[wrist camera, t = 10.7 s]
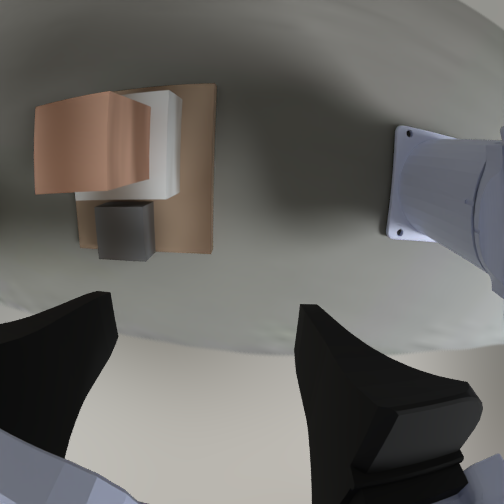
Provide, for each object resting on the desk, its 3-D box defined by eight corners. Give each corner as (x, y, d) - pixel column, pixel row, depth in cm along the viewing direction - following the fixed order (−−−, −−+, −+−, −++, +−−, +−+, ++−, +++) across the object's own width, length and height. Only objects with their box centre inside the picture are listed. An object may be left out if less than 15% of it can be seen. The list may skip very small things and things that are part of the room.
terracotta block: (150, 106, 14) (109, 90, 10) (149, 179, 16) (107, 190, 11) (88, 114, 14) (35, 107, 10) (88, 181, 16) (35, 194, 11)
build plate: (217, 86, 17) (207, 71, 14) (212, 249, 21) (203, 270, 17) (83, 99, 18) (52, 93, 14) (86, 244, 21) (58, 261, 17)
